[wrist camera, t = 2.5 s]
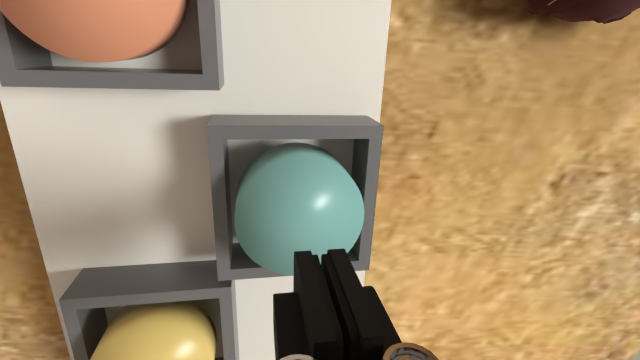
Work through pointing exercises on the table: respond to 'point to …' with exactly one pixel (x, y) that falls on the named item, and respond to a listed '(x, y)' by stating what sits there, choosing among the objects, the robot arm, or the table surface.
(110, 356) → the button ochre
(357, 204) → the button teal
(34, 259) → the table surface
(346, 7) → the button panel
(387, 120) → the table surface
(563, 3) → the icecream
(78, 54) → the button terracotta
